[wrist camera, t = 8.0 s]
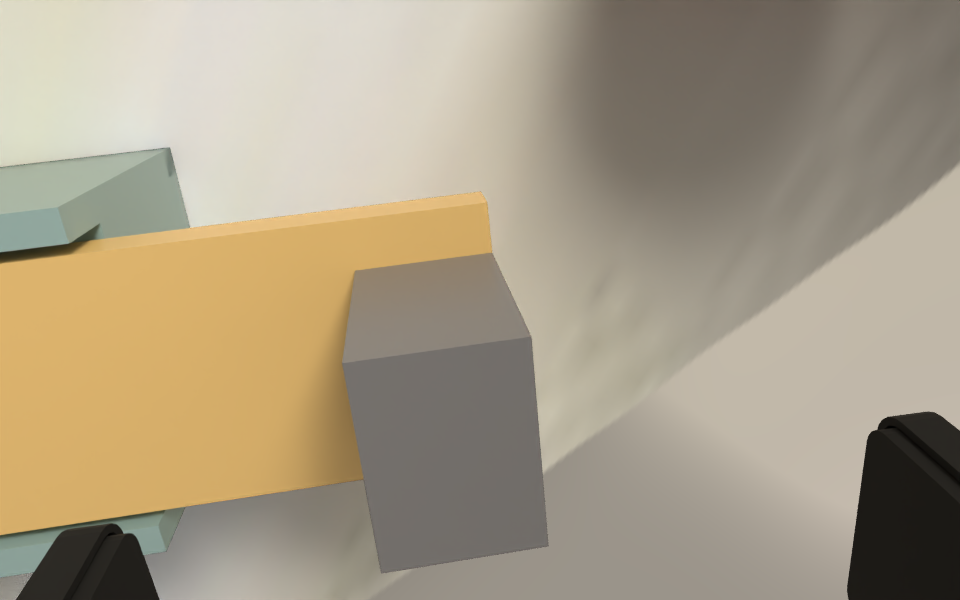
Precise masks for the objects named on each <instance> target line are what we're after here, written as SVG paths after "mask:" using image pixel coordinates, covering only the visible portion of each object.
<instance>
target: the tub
mask: <svg viewBox="0 0 960 600" xmlns="http://www.w3.org/2000/svg"><path fill="white" fill-rule="evenodd" d="M186 228H190V226H189V222H188V218H187V214H186V210H185V206H184V202H183V198H182V194H181V190H180V186H179V182H178V178H177V174H176V170H175V166H174V162H173V158H172V154H171V150H170V148H161V149H153V150H144V151H136V152H127V153H118V154H110V155H101V156H93V157H84V158H76V159H67V160H59V161H50V162H41V163H33V164H24V165H16V166H7V167H0V252H6V251H14V250H22V249H30V248H38V247H46V246H54V245H62V244H69V243H74V242H82V241H90V240H98V239H106V238H114V237H122V236H130V235H138V234H146V233H154V232H162V231H170V230H178V229H186ZM184 509H185V507H180V508H174V509H167V510H161V511H154V512H148V513H141V514H135V515H128V516H122V517H115V518H109V519H102V520H96V521H89V522H82V523H76V524H69V525H63V526H56V527H50V528H43V529H37V530H30V531H24V532H17V533H11V534H4V535H0V578H1V577H7V576H14V575H20V574H26V573H33V572H34V571H35V570H36V568H37V567H38V565H39V564H40V562H41V561H42V559H43V558H44V556H45V554H46V553H47V551H48V550H49V548H50V547H51V545H52V544H53V542H54V541H55V539H56V538H57V537H58V535H59V534H60V533H61V532H62V531H65V530H67V529H73V528H80V527H87V526H95V525H102V524H109V523H113V524H117V525H118V526H119V527H120V528H121V529H122V531H123V533H124V534H125V533H133V534H134V535H135V536H136V537H137V539H138V541H139V544H140V547H141V550H142V552H143V555H147V554H153V553H160V552H166V551H167V549H168V546H169V544H170V542H171V539H172V537H173V535H174V532H175V530H176V528H177V525H178V523H179V521H180V518H181V516H182V514H183V511H184Z"/></svg>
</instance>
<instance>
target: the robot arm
mask: <svg viewBox="0 0 960 600" xmlns="http://www.w3.org/2000/svg"><path fill="white" fill-rule="evenodd" d="M847 593H848V599H849V600H960V431H959V430H958V429H957V428H956V427H954V426H953V425H952V424H950V423H949V422H948V421H947V420H945V419H944V418H943V417H942V416H940V415H938V414H936V413H934V412H921V413H914V414H906V415H899V416H892V417H887V418H885V419H883V420H882V421H881V423H880V424H879V426H878V430H875V431H872V432H871V433H870V434H869V436H868V439H867V445H866V453H865V459H864V467H863V475H862V482H861V489H860V496H859V504H858V511H857V519H856V526H855V533H854V541H853V548H852V556H851V563H850V571H849V578H848V585H847ZM16 600H159V597H158V594H157V592H156V589H155V586H154V583H153V580H152V578H151V575H150V572H149V569H148V566H147V564H146V561H145V558H144V555H143V552H142V550H141V547H140V544H139V541H138V539H137V537H136V536H135V535H134V534H133V533H125V534H124V533H123V531H122V529H121V528H120V527H119V526H118V525H117V524H113V523H109V524H102V525H95V526H87V527H80V528H73V529H67V530H65V531H62V532H61V533H60V534H59V535H58V537H57V538H56V539H55V541H54V542H53V544H52V545H51V547H50V548H49V550H48V551H47V553H46V554H45V556H44V558H43V559H42V561H41V562H40V564H39V565H38V567H37V568H36V570H35V571H34V573H33V575H32V576H31V578H30V579H29V581H28V582H27V584H26V585H25V587H24V588H23V590H22V591H21V593H20V595H19V596H18V598H17V599H16Z"/></svg>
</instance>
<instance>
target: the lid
mask: <svg viewBox="0 0 960 600" xmlns="http://www.w3.org/2000/svg"><path fill="white" fill-rule="evenodd" d="M363 479H364V483H365V489H366V494H367V499H368V505H369V510H370V515H371V521H372V526H373V531H374V537H375V542H376V547H377V553H378V558H379V564H380V569H381V573H387V572H394V571H400V570H406V569H412V568H418V567H423V566H430V565H436V564H443V563H449V562H455V561H460V560H467V559H473V558H479V557H485V556H491V555H498V554H504V553H509V552H516V551H522V550H528V549H534V548H541V547H547V546H548V534H547V523H546V511H545V498H544V487H543V486H544V485H543V473H542V461H541V449H540V437H539V424H538V412H537V400H536V388H535V375H534V363H533V351H532V339H531V335H530V333H529V331H528V328H527V326H526V324H525V322H524V320H523V318H522V316H521V313H520V311H519V309H518V307H517V305H516V303H515V301H514V298H513V296H512V294H511V292H510V290H509V288H508V286H507V283H506V281H505V279H504V277H503V275H502V273H501V271H500V268H499V266H498V264H497V262H496V260H495V258H494V256H493V253H492V246H491V236H490V226H489V216H488V206H487V201H486V200H485V198H484V196H483V194H482V193H481V192H473V193H465V194H457V195H449V196H441V197H434V198H426V199H418V200H410V201H402V202H394V203H386V204H378V205H370V206H362V207H354V208H346V209H338V210H330V211H322V212H314V213H306V214H298V215H290V216H282V217H274V218H266V219H258V220H250V221H242V222H234V223H226V224H218V225H210V226H202V227H194V228H186V229H178V230H170V231H162V232H154V233H146V234H138V235H130V236H122V237H114V238H106V239H98V240H90V241H82V242H74V243H69V244H62V245H54V246H46V247H38V248H30V249H22V250H14V251H6V252H0V535H4V534H11V533H17V532H24V531H30V530H37V529H43V528H50V527H56V526H63V525H69V524H76V523H82V522H89V521H96V520H102V519H109V518H115V517H122V516H128V515H135V514H141V513H148V512H154V511H161V510H167V509H174V508H180V507H187V506H193V505H200V504H206V503H213V502H219V501H226V500H233V499H239V498H246V497H252V496H259V495H265V494H272V493H278V492H285V491H291V490H298V489H304V488H311V487H317V486H324V485H330V484H337V483H343V482H350V481H356V480H363Z"/></svg>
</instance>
